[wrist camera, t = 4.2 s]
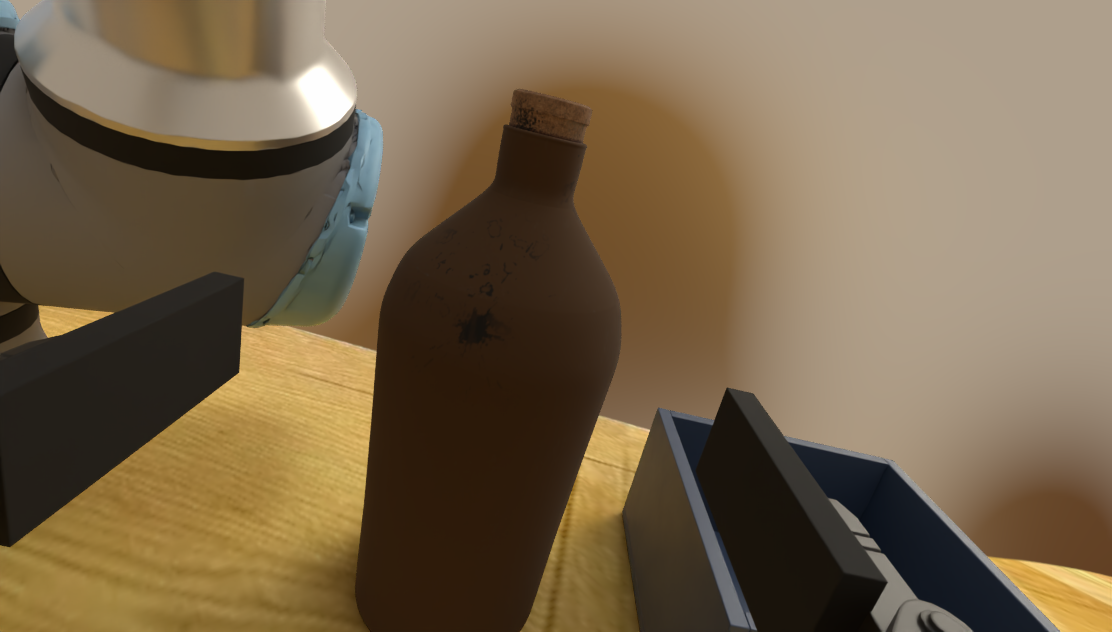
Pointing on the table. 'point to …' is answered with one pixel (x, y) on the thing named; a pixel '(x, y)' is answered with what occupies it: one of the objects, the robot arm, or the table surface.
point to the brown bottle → (486, 390)
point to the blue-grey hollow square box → (846, 476)
